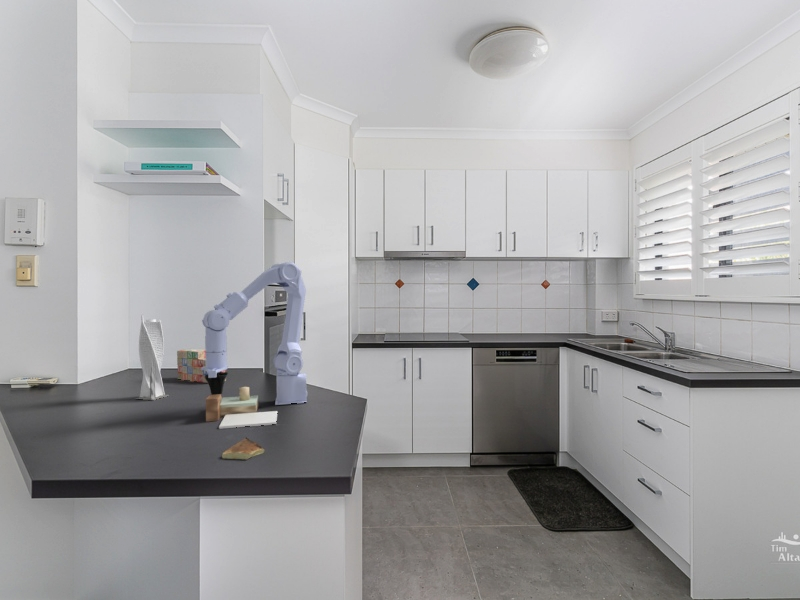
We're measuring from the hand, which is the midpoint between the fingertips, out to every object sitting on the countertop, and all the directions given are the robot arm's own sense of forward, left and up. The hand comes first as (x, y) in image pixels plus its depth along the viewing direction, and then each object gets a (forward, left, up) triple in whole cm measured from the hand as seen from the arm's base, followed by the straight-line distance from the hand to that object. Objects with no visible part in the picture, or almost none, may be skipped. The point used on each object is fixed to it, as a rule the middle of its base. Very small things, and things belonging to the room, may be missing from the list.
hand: (216, 398), depth 130 cm
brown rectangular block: (0, +5, -4) cm, 7 cm away
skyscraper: (+25, -29, -4) cm, 38 cm away
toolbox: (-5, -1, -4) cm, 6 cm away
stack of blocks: (+15, -58, -5) cm, 60 cm away
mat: (-10, +11, -4) cm, 15 cm away
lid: (-5, -1, -2) cm, 5 cm away
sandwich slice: (-10, +36, -5) cm, 38 cm away
